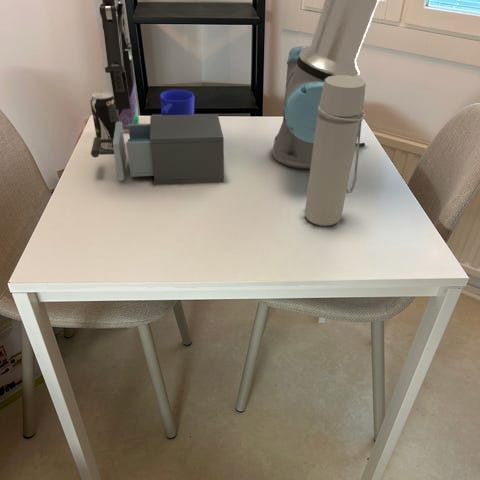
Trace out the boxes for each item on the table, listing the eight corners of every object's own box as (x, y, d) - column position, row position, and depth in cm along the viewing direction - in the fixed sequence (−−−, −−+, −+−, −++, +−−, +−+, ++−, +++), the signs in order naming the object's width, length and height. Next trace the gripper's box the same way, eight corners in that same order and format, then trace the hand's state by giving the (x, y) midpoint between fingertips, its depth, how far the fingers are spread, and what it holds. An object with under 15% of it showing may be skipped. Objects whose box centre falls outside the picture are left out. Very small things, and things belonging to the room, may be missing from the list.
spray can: (128, 134, 121) (116, 45, 108) (114, 128, 124) (100, 41, 110) (144, 127, 124) (134, 41, 111) (129, 122, 127) (118, 37, 113)
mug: (151, 146, 116) (146, 103, 109) (171, 128, 125) (168, 87, 118) (182, 151, 114) (179, 108, 108) (200, 132, 123) (199, 91, 116)
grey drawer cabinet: (154, 184, 102) (149, 139, 95) (154, 158, 111) (150, 115, 105) (223, 181, 104) (223, 136, 97) (218, 156, 113) (217, 113, 106)
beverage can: (97, 142, 117) (88, 90, 109) (121, 140, 118) (113, 89, 110) (99, 152, 113) (89, 99, 105) (123, 150, 114) (116, 97, 106)
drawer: (94, 181, 100) (86, 144, 95) (99, 157, 109) (92, 122, 103) (183, 177, 102) (180, 141, 97) (181, 154, 111) (178, 120, 105)
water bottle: (312, 231, 90) (333, 90, 73) (297, 210, 95) (313, 74, 78) (357, 225, 92) (387, 86, 75) (340, 204, 97) (364, 71, 80)
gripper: (89, -45, 89) (110, 77, 104) (73, -24, 71) (100, 120, 86) (130, -45, 90) (145, 76, 105) (124, -25, 72) (142, 118, 86)
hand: (125, 96), depth 95 cm, fingers open, 13 cm apart
